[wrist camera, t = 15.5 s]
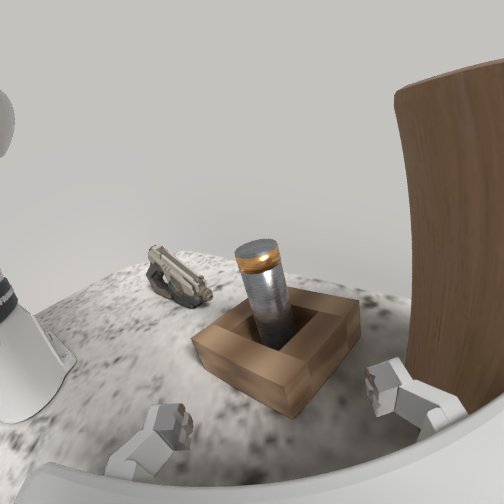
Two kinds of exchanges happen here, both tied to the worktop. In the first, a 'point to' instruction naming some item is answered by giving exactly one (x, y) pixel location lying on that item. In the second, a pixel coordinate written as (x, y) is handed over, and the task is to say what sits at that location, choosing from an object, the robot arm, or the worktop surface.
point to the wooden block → (456, 230)
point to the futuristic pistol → (176, 279)
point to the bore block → (289, 357)
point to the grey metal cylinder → (267, 291)
